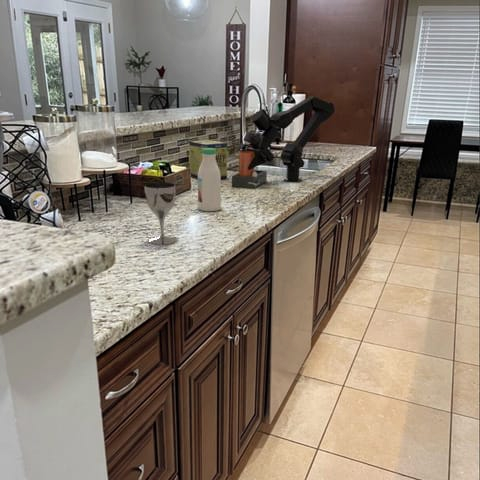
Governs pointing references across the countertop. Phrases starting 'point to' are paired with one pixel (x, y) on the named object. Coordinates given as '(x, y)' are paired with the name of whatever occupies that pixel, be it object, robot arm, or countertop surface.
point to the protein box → (197, 157)
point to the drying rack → (249, 180)
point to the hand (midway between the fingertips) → (243, 168)
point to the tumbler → (245, 163)
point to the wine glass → (160, 206)
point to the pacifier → (254, 176)
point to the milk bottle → (209, 182)
